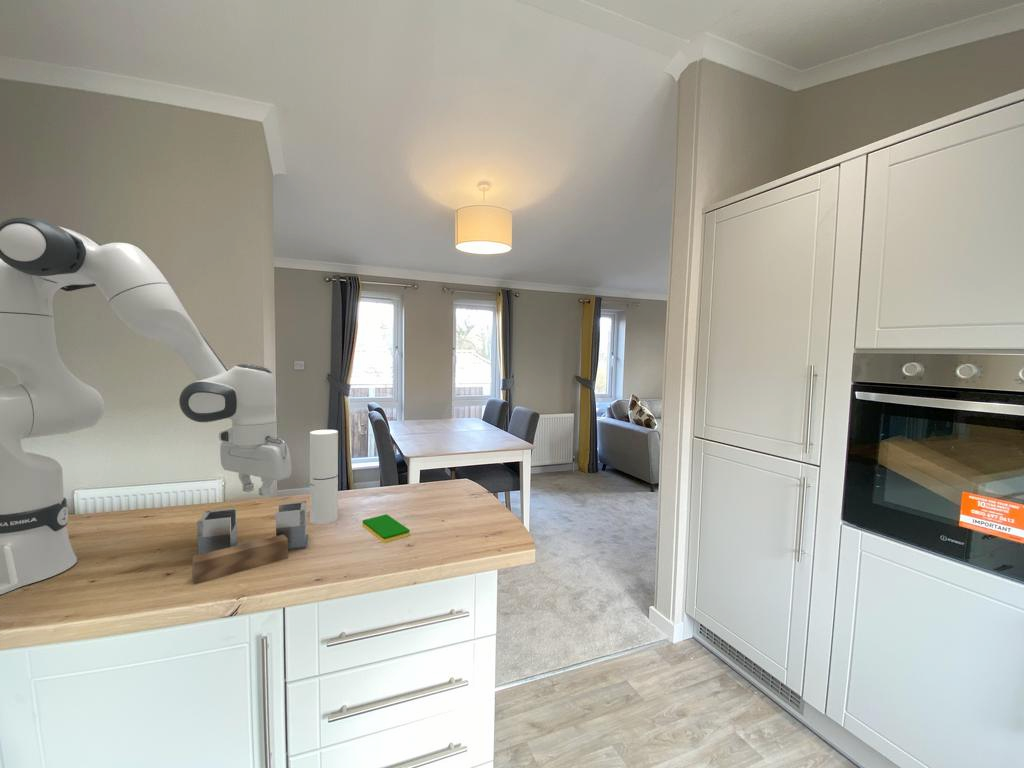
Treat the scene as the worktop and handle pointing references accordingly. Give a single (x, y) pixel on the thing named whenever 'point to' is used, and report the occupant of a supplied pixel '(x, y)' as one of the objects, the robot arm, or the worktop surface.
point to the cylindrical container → (323, 476)
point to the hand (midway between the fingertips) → (256, 493)
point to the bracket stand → (222, 533)
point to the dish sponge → (385, 528)
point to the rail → (239, 558)
